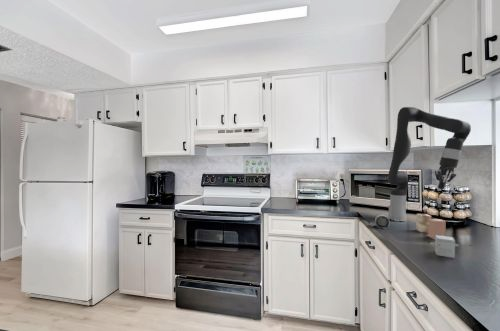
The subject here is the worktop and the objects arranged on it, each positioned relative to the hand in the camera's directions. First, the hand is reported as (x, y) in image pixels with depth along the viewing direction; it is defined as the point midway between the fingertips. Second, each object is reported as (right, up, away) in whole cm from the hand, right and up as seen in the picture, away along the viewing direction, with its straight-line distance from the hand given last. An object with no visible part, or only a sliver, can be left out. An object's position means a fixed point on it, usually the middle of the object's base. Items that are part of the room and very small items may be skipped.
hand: (440, 188), depth 135 cm
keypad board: (-10, -25, -5) cm, 27 cm away
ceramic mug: (-26, -25, +15) cm, 39 cm away
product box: (-21, -25, -29) cm, 44 cm away
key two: (-11, -23, -11) cm, 28 cm away
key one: (-9, -23, +1) cm, 25 cm away
